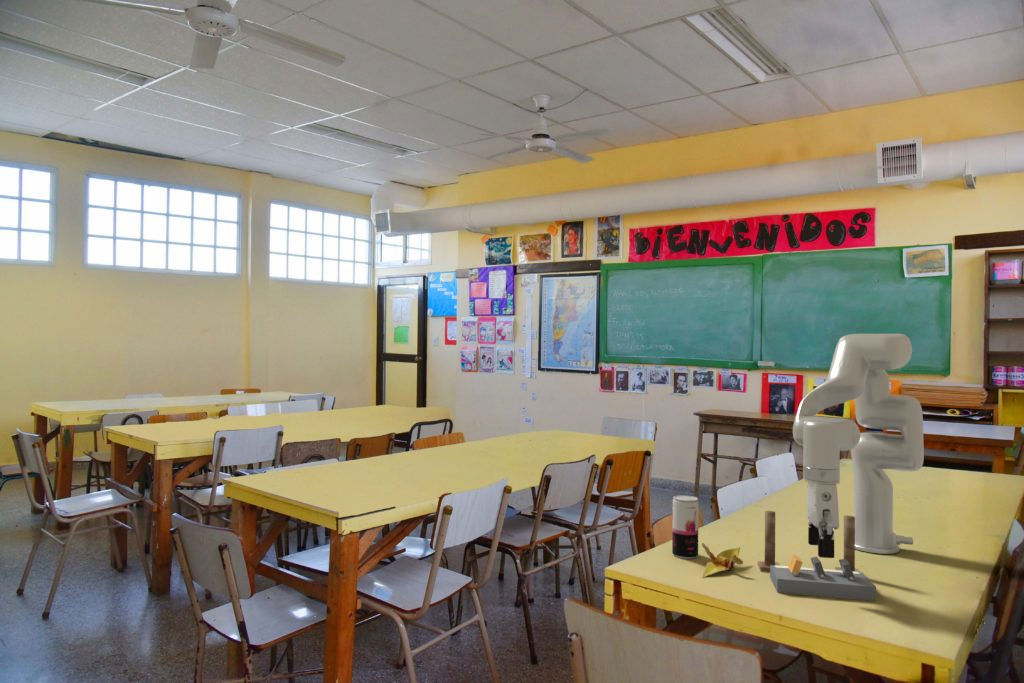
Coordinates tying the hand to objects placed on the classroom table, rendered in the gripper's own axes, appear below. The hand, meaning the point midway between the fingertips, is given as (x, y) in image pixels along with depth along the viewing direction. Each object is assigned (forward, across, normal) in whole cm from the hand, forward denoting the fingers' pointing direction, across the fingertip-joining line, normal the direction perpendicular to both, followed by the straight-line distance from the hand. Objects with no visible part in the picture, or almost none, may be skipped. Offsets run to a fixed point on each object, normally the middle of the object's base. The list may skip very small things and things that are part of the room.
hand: (820, 551), depth 150 cm
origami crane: (+9, +8, +21) cm, 24 cm away
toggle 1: (+6, 0, +6) cm, 8 cm away
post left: (+8, +12, +9) cm, 17 cm away
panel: (+8, 0, 0) cm, 8 cm away
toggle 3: (+6, 0, -6) cm, 8 cm away
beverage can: (+9, +18, +29) cm, 35 cm away
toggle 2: (+6, 0, 0) cm, 6 cm away
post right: (+8, +12, -9) cm, 17 cm away
